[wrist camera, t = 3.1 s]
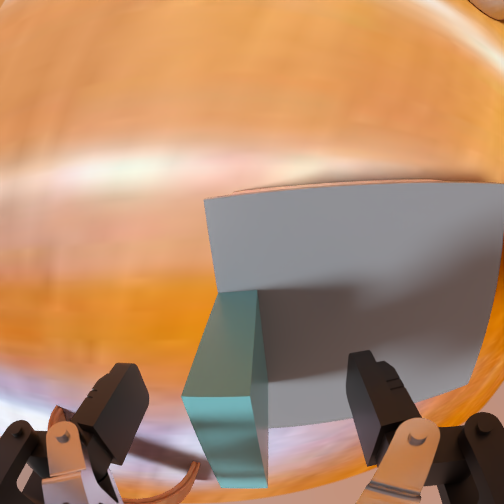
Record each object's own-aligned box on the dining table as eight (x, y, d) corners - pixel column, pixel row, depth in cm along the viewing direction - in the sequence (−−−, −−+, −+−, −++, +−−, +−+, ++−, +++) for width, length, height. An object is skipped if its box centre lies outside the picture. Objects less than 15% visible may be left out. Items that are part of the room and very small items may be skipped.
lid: (482, 180, 11) (592, 203, 4) (455, 367, 15) (509, 443, 7) (213, 195, 12) (135, 235, 5) (247, 405, 16) (237, 518, 8)
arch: (194, 478, 29) (182, 536, 19) (63, 426, 28) (34, 472, 18) (201, 461, 27) (187, 528, 17) (56, 403, 26) (21, 452, 17)
